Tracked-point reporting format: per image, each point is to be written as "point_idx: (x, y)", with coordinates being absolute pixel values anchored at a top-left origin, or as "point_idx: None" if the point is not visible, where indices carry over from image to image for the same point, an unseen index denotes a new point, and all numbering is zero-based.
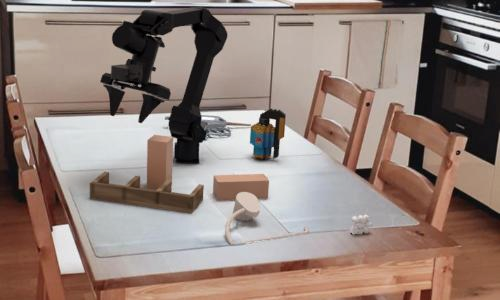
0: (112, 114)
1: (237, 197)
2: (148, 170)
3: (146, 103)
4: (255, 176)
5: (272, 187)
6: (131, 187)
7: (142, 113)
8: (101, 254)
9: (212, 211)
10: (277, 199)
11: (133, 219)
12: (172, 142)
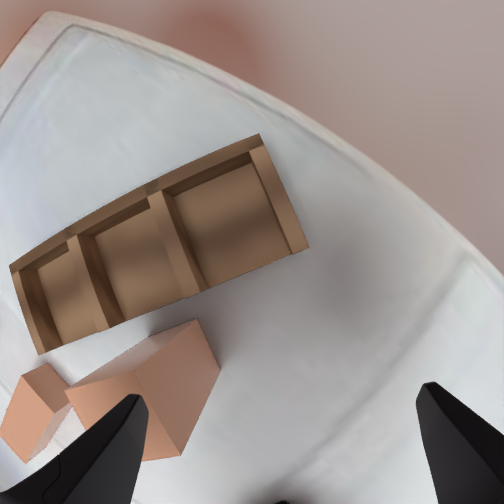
0: (424, 395)
1: None
2: (175, 334)
3: (19, 489)
4: (19, 444)
5: None
6: (136, 199)
7: (84, 435)
8: (69, 31)
9: None
10: None
11: (93, 143)
12: None
